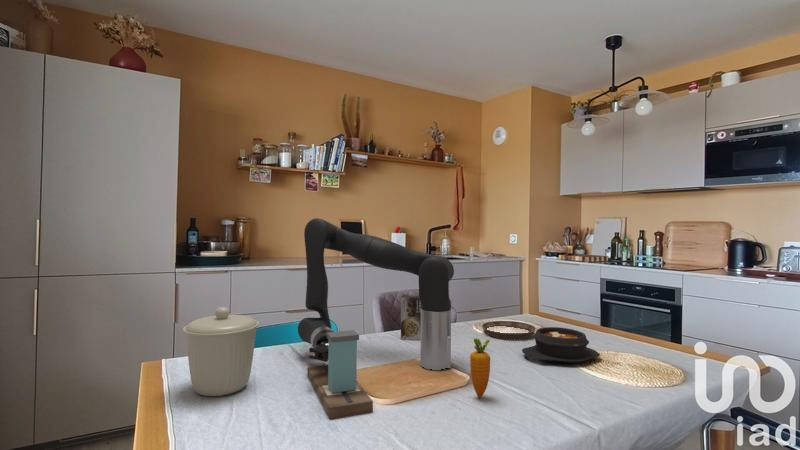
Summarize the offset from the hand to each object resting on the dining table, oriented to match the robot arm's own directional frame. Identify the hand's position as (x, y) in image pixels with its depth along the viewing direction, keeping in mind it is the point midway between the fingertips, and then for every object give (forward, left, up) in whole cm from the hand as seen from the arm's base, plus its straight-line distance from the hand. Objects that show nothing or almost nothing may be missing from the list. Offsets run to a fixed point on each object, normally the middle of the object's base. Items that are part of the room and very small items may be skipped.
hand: (340, 360), depth 101 cm
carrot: (-34, -5, -9) cm, 36 cm away
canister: (+32, 0, -9) cm, 33 cm away
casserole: (-62, -41, -9) cm, 75 cm away
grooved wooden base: (+2, -3, -9) cm, 10 cm away
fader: (-1, +2, -6) cm, 6 cm away
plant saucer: (-49, -69, -9) cm, 85 cm away
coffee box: (-12, -57, -9) cm, 59 cm away
